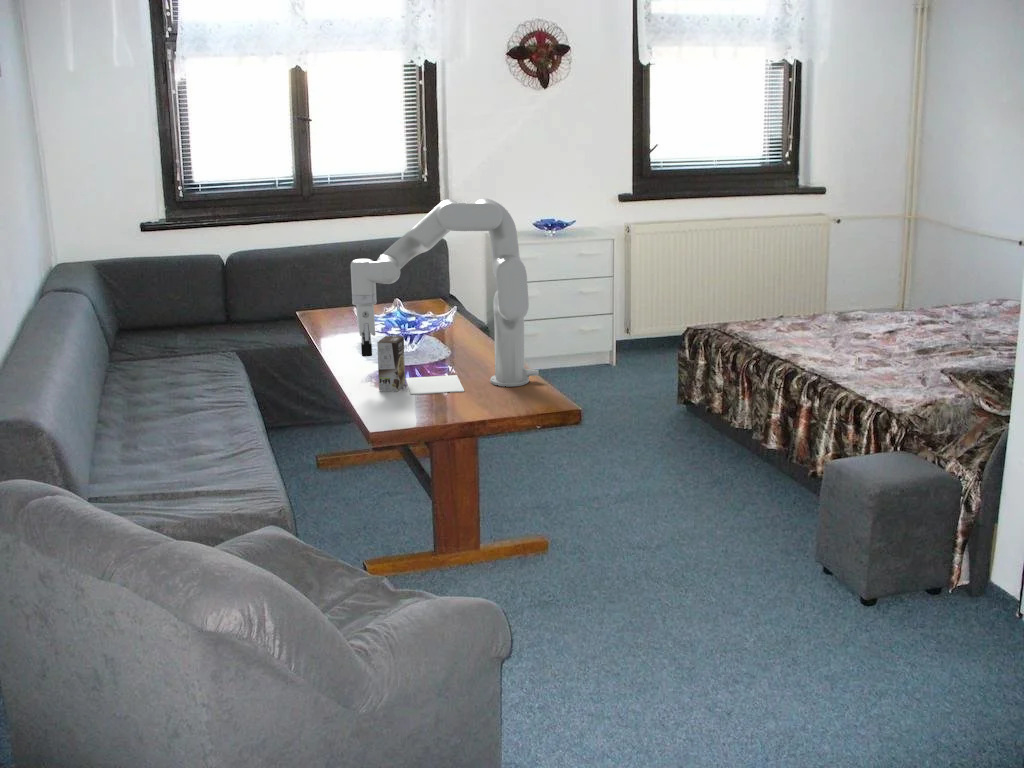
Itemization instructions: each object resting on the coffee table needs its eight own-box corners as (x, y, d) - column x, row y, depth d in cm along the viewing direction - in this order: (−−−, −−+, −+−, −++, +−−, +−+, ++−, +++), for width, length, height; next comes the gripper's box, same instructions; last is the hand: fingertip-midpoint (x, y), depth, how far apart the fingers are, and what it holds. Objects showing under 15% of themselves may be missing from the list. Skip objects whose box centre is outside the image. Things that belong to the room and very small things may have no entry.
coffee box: (397, 392, 350) (396, 342, 346) (378, 391, 352) (376, 341, 347) (406, 384, 359) (404, 335, 354) (387, 383, 360) (385, 335, 356)
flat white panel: (456, 376, 367) (456, 375, 367) (464, 391, 350) (464, 390, 350) (405, 379, 365) (405, 377, 364) (410, 394, 348) (410, 393, 348)
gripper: (377, 303, 339) (380, 361, 344) (374, 293, 353) (377, 349, 359) (353, 304, 338) (356, 362, 343) (351, 294, 352) (354, 350, 357)
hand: (366, 355), depth 351 cm, fingers closed
